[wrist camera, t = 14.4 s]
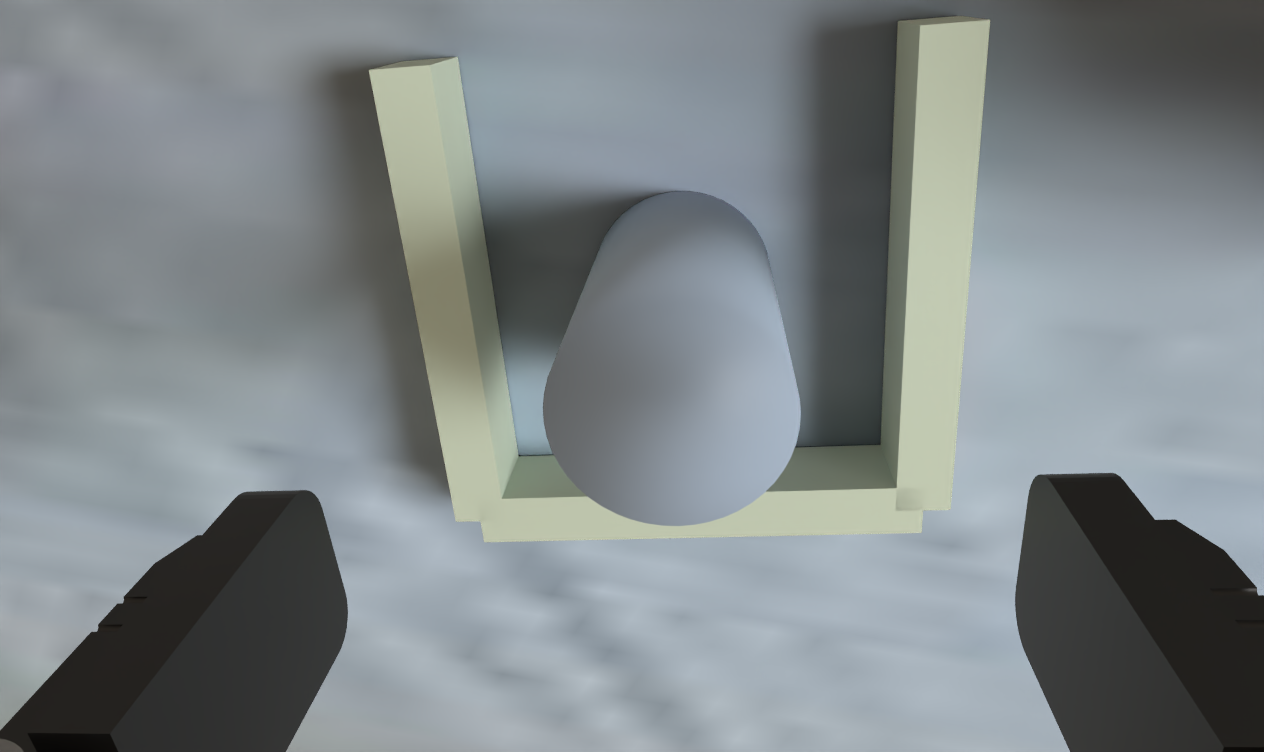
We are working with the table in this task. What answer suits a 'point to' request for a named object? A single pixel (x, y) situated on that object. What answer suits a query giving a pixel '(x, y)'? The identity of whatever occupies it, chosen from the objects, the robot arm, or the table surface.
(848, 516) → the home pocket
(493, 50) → the table surface
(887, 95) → the table surface
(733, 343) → the grey capsule
